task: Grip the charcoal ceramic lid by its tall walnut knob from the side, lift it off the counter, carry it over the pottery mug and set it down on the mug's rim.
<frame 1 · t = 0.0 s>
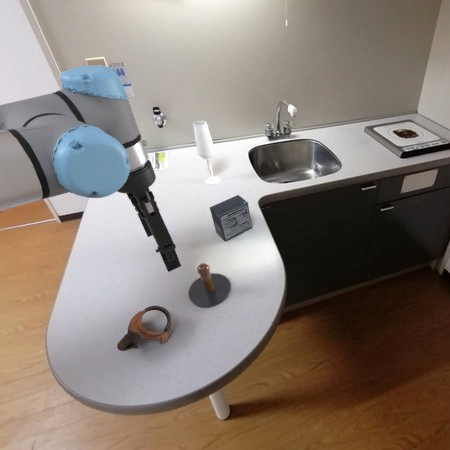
hand: (163, 250, 68), 19 cm above the worktop, tool pointing down, fingers open, 13 cm apart
champagne flute: (213, 180, 125), on the worktop
lid: (210, 290, 82), on the worktop
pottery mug: (148, 337, 72), on the worktop
small box: (234, 230, 101), on the worktop
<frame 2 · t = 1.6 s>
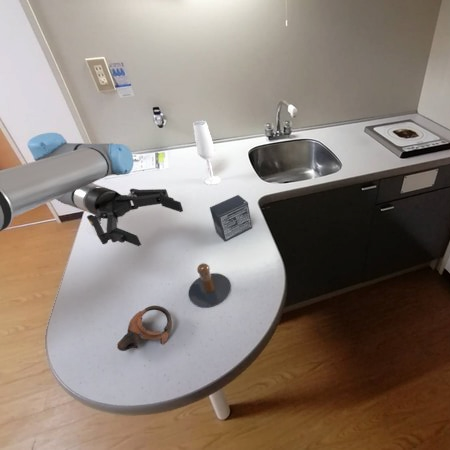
hand: (160, 223, 72), 20 cm above the worktop, tool horizontal, fingers open, 13 cm apart
nothing on the worktop moved.
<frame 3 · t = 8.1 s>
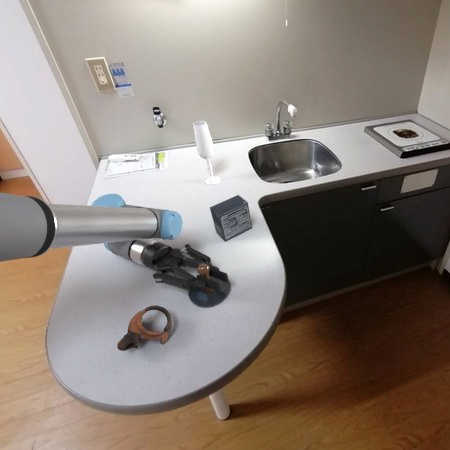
hand: (222, 282, 76), 6 cm above the worktop, tool horizontal, fingers closed on lid, 3 cm apart
lid: (210, 290, 82), on the worktop, touching gripper
everything else where it was.
when the fingers open (13 cm above the worktop, at t = 14.4 s): lid stays where it is, resting on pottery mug.
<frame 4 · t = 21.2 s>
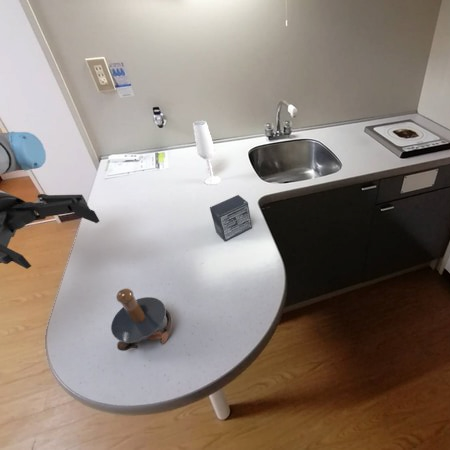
hand: (63, 237, 57), 28 cm above the worktop, tool horizontal, fingers open, 13 cm apart
lid: (139, 319, 67), point 7 cm above the worktop, touching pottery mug
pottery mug: (148, 337, 72), on the worktop, touching lid
everything else where it was.
at the end: lid 0.5 cm off-centre on the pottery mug, point 7.5 cm above the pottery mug's base; lid tilted 0°; the gripper is holding nothing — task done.
